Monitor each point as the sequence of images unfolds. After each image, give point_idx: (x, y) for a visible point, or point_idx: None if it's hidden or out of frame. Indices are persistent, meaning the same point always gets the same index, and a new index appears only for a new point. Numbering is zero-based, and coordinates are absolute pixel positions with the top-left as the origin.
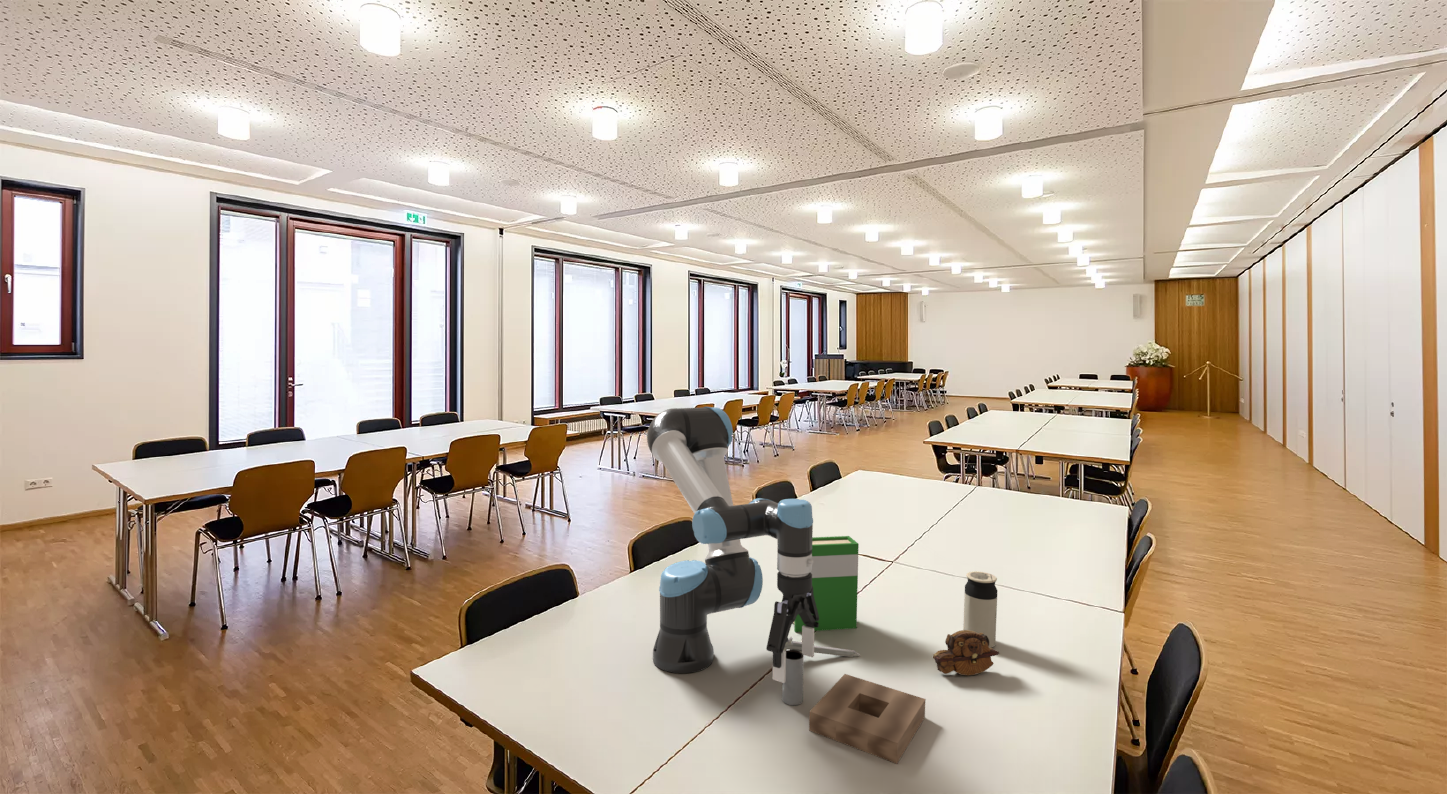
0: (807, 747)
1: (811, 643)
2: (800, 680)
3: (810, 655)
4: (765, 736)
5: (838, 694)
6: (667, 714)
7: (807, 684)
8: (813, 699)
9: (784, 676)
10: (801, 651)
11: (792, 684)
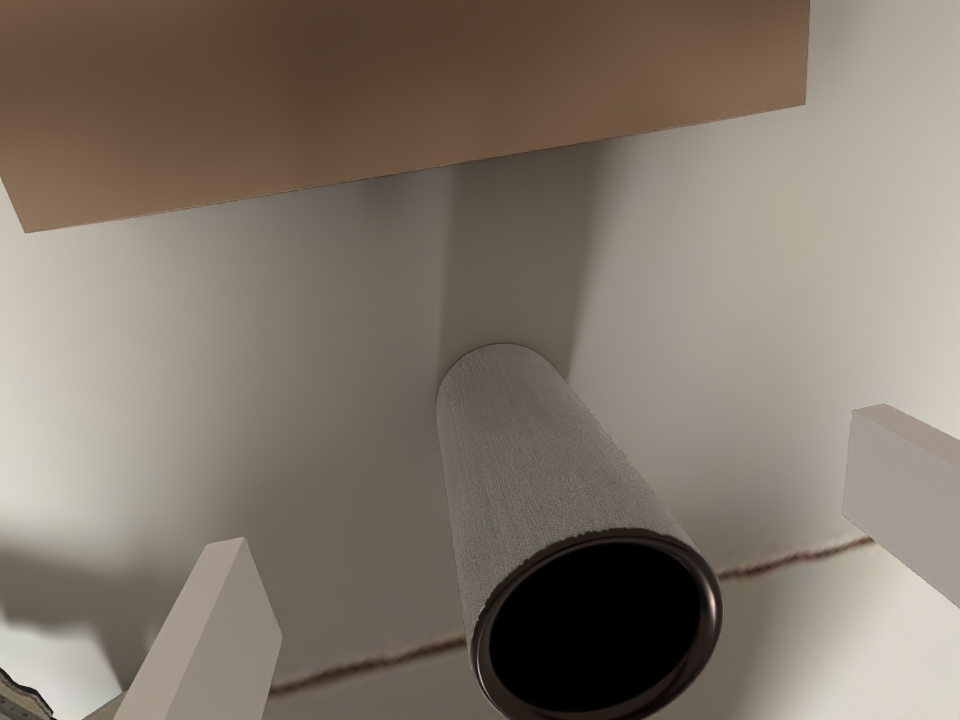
0: (870, 20)
1: (190, 692)
2: (547, 404)
3: (248, 568)
4: (891, 281)
5: (407, 56)
6: (945, 670)
7: (278, 451)
8: (396, 316)
9: (927, 434)
10: (27, 710)
11: (599, 424)
